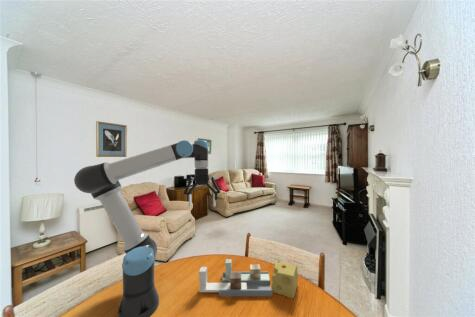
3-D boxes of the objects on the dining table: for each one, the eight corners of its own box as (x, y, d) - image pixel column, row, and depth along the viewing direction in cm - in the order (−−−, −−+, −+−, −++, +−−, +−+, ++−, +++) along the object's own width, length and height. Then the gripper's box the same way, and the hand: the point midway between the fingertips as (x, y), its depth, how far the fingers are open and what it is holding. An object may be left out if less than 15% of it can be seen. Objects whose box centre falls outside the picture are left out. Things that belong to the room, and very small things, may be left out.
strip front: (199, 292, 82) (198, 272, 83) (201, 284, 87) (201, 266, 88) (246, 292, 82) (246, 272, 82) (246, 284, 87) (246, 265, 87)
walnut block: (230, 289, 82) (230, 278, 82) (231, 283, 87) (230, 272, 87) (241, 289, 82) (240, 278, 82) (241, 283, 86) (241, 272, 87)
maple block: (250, 279, 89) (250, 269, 89) (250, 274, 93) (249, 264, 93) (260, 279, 89) (260, 269, 89) (259, 273, 93) (259, 264, 93)
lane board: (219, 296, 81) (219, 290, 81) (223, 276, 95) (222, 271, 95) (272, 296, 80) (272, 290, 80) (268, 276, 94) (268, 271, 94)
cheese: (271, 292, 83) (270, 270, 83) (277, 278, 92) (277, 259, 92) (294, 300, 78) (293, 276, 78) (298, 284, 87) (298, 264, 88)
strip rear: (225, 282, 89) (225, 263, 89) (226, 275, 94) (226, 258, 94) (269, 281, 88) (269, 263, 88) (268, 275, 93) (267, 258, 93)
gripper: (177, 169, 97) (177, 208, 96) (222, 167, 96) (223, 207, 95) (181, 168, 104) (182, 205, 104) (224, 167, 103) (225, 204, 103)
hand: (202, 206), depth 99 cm, fingers open, 13 cm apart
